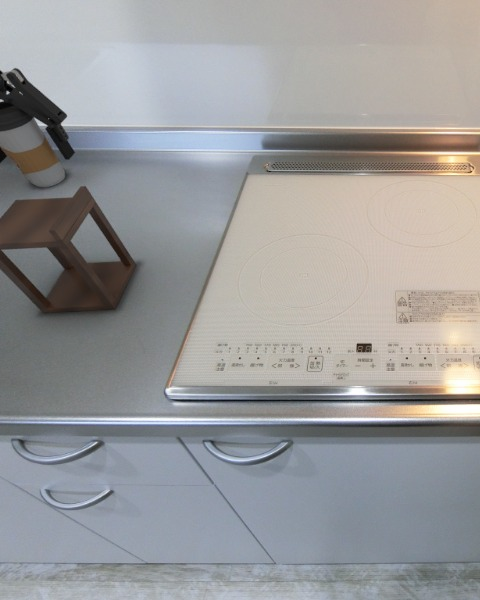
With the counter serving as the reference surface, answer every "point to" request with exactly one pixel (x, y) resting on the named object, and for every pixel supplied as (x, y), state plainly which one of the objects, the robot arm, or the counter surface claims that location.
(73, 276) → the shelf
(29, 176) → the coffee cup
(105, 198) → the counter surface
